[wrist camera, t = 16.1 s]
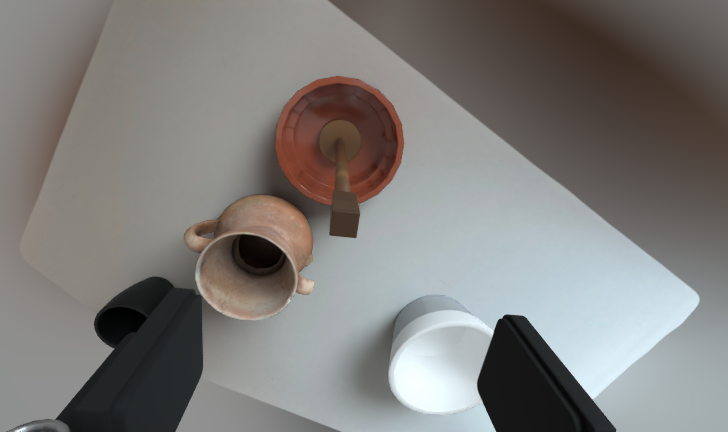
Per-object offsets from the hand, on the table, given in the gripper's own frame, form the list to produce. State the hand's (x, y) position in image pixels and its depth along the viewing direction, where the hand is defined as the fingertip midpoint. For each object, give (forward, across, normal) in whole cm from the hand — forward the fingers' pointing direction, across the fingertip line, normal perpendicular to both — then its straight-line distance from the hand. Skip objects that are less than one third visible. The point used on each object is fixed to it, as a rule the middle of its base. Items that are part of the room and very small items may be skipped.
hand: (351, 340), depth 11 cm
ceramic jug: (+42, +10, +16) cm, 46 cm away
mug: (+42, +25, +29) cm, 57 cm away
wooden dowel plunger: (+42, 0, 0) cm, 42 cm away
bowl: (+42, -21, +32) cm, 57 cm away
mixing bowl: (+42, 0, 0) cm, 42 cm away
